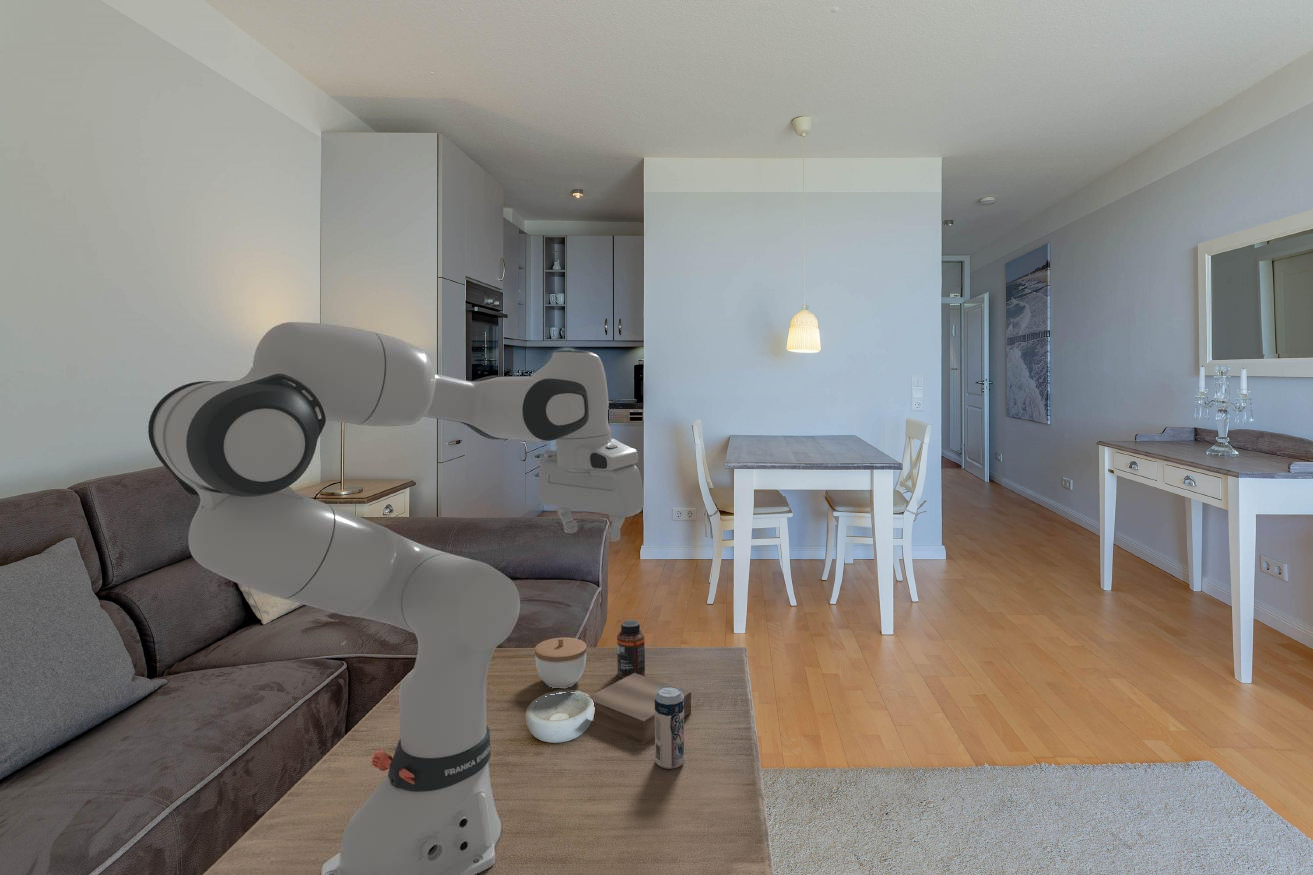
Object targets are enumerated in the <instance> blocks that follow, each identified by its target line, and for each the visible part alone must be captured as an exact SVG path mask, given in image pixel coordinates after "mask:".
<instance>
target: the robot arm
mask: <svg viewBox="0 0 1313 875" xmlns="http://www.w3.org/2000/svg"><path fill="white" fill-rule="evenodd" d="M603 364H604V363H603V361H602V359H601V358H600V356H599V355H597V354H596V353H594V352H592V351H585V350H580V349H579V350H578V349H577V350H576V349H575V350H574V349H562V350H558V351H555V352H553V353H552V355H551V358H550V360H549V361H548V362H547V363H546V364H545V365H543V366H542V367H541V368H539V369H538V370H537V371H535V372H533V373H531V374H530V376H526V375H525V376H504V375H489V376H485V377H481V378H478V379H474V380H466V379H461V378H456V377H452V376H448V375H443V374H439V373H436V371H435V369H434V365H433V363H432V360H431V359H430V356H428V354H427V353H426V352H425V350H424V349H422V348H420V347H418V346H416V345H414V344H411V343H409V342H407V341H404V340H402V339H399V338H397V337H394V336H392V335H391V336H390V335H387V334H383V333H379V332H375V331H371V330H366V329H361V328H356V327H350V326H345V325H338V324H337V325H336V324H329V323H319V322H318V323H317V322H316V323H315V322H305V321H303V322H301V321H300V322H299V321H288V322H282V323H280V324H277V325H274V326H273V327H272V328H270V329H269V330H268V331H267V332H266V333H264V335H263V337H261V338H260V341H259V342H258V344H257V347H256V348H255V352H254V355H253V361H252V367H250V370H249V371H248V373H247V374H246V375H245V376H243V377H241V378H240V379H235V380H230V381H229V380H213V381H212V380H203V381H201V380H199V381H194V382H190V383H186V384H183V385H181V386H178V387H177V388H175V389H172V391H170V392H168V393H167V394H166V395H164V396H163V397H162V398H161V399H160V400H159V402H158V403H156V405H155V406H154V408H153V410H152V411H151V414H150V417H149V420H148V426H147V428H148V431H147V433H148V439H149V443H150V445H151V448H152V449H153V452H154V454H155V456H156V457H157V459H158V460H159V462H160V463H161V464H162V465H163V466H164V468H165V469H167V471H169V473H170V474H171V475H172V476H173V477H174V479H175V481H177V482H178V483H179V484H180V487H182V489H184V491H185V492H186V493H188V494H189V495H193V496H197V497H199V499H200V501H199V505H198V507H197V510H196V512H195V513H194V515H193V518H192V520H191V522H190V526H189V529H188V537H187V540H188V549H189V552H190V554H191V556H192V558H193V559H194V561H196V562H197V563H198V564H199V565H200V566H202V567H203V568H204V569H207V570H209V571H211V572H212V573H215V574H216V575H219V576H221V577H223V578H225V579H228V580H230V581H232V582H233V583H236V584H238V585H241V586H244V587H245V588H248V589H251V590H255V591H258V592H260V593H262V594H266V595H269V596H272V597H276V598H279V599H283V600H287V601H291V602H294V603H298V604H302V605H306V606H308V607H311V608H316V609H320V610H324V611H326V612H331V613H335V614H339V615H343V616H346V617H355V618H362V619H365V620H371V621H376V622H380V623H384V624H389V625H392V626H395V627H397V628H400V629H404V630H406V631H408V632H411V633H413V634H415V637H416V639H417V652H416V654H417V655H416V658H415V662H414V667H413V669H412V670H411V671H410V672H408V673H407V675H405V676H404V678H403V679H402V681H401V683H400V686H399V690H398V699H399V700H398V701H399V703H398V704H399V706H398V707H399V730H400V733H399V734H400V736H399V737H400V739H399V741H398V742H397V745H396V748H395V749H394V750H395V751H394V754H393V756H392V755H391V754H388V753H387V752H386V751H385V750H378V751H376V752H375V753H374V754H373V757H371V763H372V764H371V765H372V766H373V767H374V768H377V769H378V770H379V771H381V772H384V771H387V770H388V772H387V776H386V777H385V778H384V780H383V781H382V782H381V783H380V784H379V785H378V787H377V788H376V789H375V790H374V791H373V792H372V793H371V795H370V796H369V797H368V798H367V799H366V800H365V801H364V803H363V804H362V805H361V806H360V807H359V809H357V811H356V812H355V813H354V814H353V815H352V816H351V817H350V818H349V819H348V821H347V823H346V825H345V827H344V830H343V833H342V838H341V843H340V849H339V850H340V851H339V852H338V853H337V854H335V855H334V856H332V857H331V858H330V859H328V860H327V861H326V862H324V863H323V864H322V867H321V872H320V875H475V874H476V875H477V873H478V874H479V873H482V872H484V871H485V870H487V869H489V868H491V867H492V866H493V865H494V864H495V862H496V851H495V848H496V845H497V842H498V841H499V839H500V836H501V832H502V822H501V819H500V817H499V814H498V811H497V808H496V804H495V801H494V800H495V799H494V795H493V790H492V783H491V778H490V767H489V760H490V759H491V749H492V747H491V732H490V727H489V726H488V724H487V680H488V678H487V677H488V673H489V668H490V667H489V666H490V663H491V661H492V657H493V654H494V652H495V650H496V648H497V647H498V646H499V645H501V644H503V642H504V641H505V640H506V639H507V638H508V637H509V636H510V634H511V633H512V632H513V630H514V628H515V626H516V625H517V624H516V623H517V622H518V619H519V614H520V608H521V599H520V592H519V590H518V588H517V586H516V584H515V583H514V581H513V580H512V579H511V578H510V577H508V576H507V575H505V574H504V573H503V572H501V571H500V570H498V569H496V568H495V567H493V566H491V565H490V564H488V563H486V562H482V561H480V560H475V559H471V558H468V557H464V556H460V555H456V554H453V553H449V552H446V551H442V550H440V549H439V550H438V549H435V548H432V547H429V546H426V545H424V544H421V543H418V542H416V541H414V540H411V539H409V538H407V537H404V536H402V535H401V534H398V533H397V532H395V531H393V530H390V528H388V527H385V526H383V525H380V524H378V523H375V522H373V521H371V520H368V519H366V518H363V517H360V516H358V515H355V514H353V513H350V512H347V511H345V510H342V509H341V508H338V507H335V506H333V505H331V504H327V503H325V502H323V501H320V500H317V499H315V498H313V497H309V496H308V495H305V494H302V493H301V492H298V491H297V490H295V489H293V488H292V487H291V485H293V484H294V483H295V482H297V481H298V480H299V479H300V478H301V477H302V476H303V474H304V473H305V472H306V471H307V470H308V468H309V466H310V464H311V463H312V460H313V458H314V456H315V452H316V449H317V445H318V441H319V438H320V436H321V434H322V432H323V429H324V427H325V426H326V423H327V422H334V423H335V422H336V423H343V424H344V423H345V424H350V425H359V426H369V427H400V426H401V427H403V426H411V425H414V424H416V423H418V422H419V421H420V420H421V419H422V418H431V419H438V420H443V421H450V422H457V423H460V424H463V425H465V426H466V427H468V428H469V429H470V430H472V431H473V432H475V433H476V434H478V435H480V436H481V437H482V438H485V439H488V440H515V441H525V442H526V441H528V442H540V443H545V442H551V441H555V448H556V450H553V449H546V450H545V451H544V452H543V453H542V454H541V455H540V457H539V465H540V466H539V470H538V498H539V500H540V502H541V504H542V505H544V506H552V507H556V513H557V515H558V517H559V518H560V520H561V522H562V523H563V531H564V533H567V534H574V533H577V532H578V521H577V520H574V518H573V516H572V513H571V511H572V510H577V511H578V510H579V511H585V512H592V513H598V514H603V515H608V516H609V517H608V518H609V521H611V525H610V528H608V529H605V535H606V538H605V539H606V540H607V541H610V542H618V541H619V540H620V539H621V538H622V537H621V536H622V535H621V528H622V526H623V523H624V522H625V519H626V518H629V517H633V516H635V515H637V514H639V513H640V512H641V511H642V510H643V507H644V505H645V502H644V501H645V499H644V488H643V487H644V486H643V481H642V476H641V472H640V470H639V468H638V467H637V466H636V465H635V464H637V463H638V462H639V452H638V450H637V449H635V448H633V447H631V446H629V445H626V444H624V443H622V442H620V441H619V440H617V439H615V438H612V429H611V426H610V424H609V420H608V411H609V405H610V403H609V401H610V400H609V392H608V390H609V389H608V384H607V382H608V381H607V375H606V372H605V368H604V365H603Z"/></svg>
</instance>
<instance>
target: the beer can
mask: <svg viewBox="0 0 1313 875" xmlns="http://www.w3.org/2000/svg"><path fill="white" fill-rule="evenodd" d="M674 686H675V685H672V686H664V687H661V688H659V689H658V691H657V693H656V695H655V737H654V761H655V763H656V764H657V765H658V766H659V767H661V768H663V769H667V770H673V769H676V768H679V767H680V766H682V765H683V764H684V762H685V717H684V695H683V693H682V692H681V690H680V689H679V688H680V687H678V686H675V687H674Z"/></svg>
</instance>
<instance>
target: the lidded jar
mask: <svg viewBox="0 0 1313 875" xmlns="http://www.w3.org/2000/svg"><path fill="white" fill-rule="evenodd" d="M587 648H588V647H587V644H586V643H585V642H584V641H583V640H581V639H578V638H574V637H555V638H550V639H549V638H548V639H546V640H543V641H541V642H539V643H537V645H536V646H535V647H534V655H535V666H536V671H537V674H538V676H539V677H540V679H541V681H542V682H544V683H545V684H546V686H547V685H548V686H549V687H548V686H547V687H548V688H550V687H552V688H551V689H553V688H560V687H562V688H563V687H566V688H563V689H562V690H564V689H569V688H571V687H573V686H575V685H576V683H577V681H579V680H580V678H581V677H582V675H583V674H584V671H585V668H586V662H587ZM568 687H569V688H568Z"/></svg>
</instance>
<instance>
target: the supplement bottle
mask: <svg viewBox="0 0 1313 875" xmlns="http://www.w3.org/2000/svg"><path fill="white" fill-rule="evenodd" d="M620 625H621V626H620V632H618V633H617V635H616V649H617V650H616V652H617V653H616V654H617V655H616V656H617V657H616V658H617V666H616V667H617V675H618V677H620V678H622V679H623V678H625V677H627V676H629V675H631V674H633V673H636V674H639V675H642V676H645V673H646V660H645V659H646V655H645V654H646V653H645V652H646V649H645V645H646V644H645V633H644V632H643V631H641V630H640V628H641V625H640V622H639V621H638V620H633V619H629V620H624V621H622V622H621V623H620Z"/></svg>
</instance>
